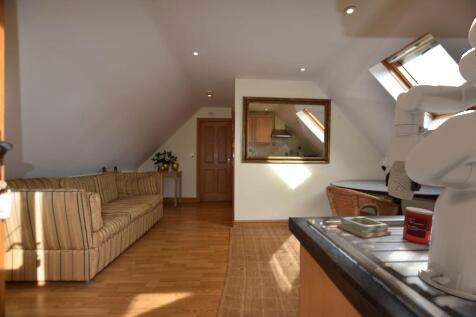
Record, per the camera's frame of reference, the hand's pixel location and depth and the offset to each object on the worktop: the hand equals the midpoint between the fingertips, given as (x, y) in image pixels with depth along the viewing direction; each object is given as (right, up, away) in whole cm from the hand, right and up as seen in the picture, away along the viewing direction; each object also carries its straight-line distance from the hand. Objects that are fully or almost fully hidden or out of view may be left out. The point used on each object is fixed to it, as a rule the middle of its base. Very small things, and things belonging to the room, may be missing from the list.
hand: (401, 188), depth 74 cm
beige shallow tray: (-4, -18, +15) cm, 24 cm away
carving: (0, -3, 0) cm, 3 cm away
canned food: (+11, -20, +9) cm, 24 cm away
